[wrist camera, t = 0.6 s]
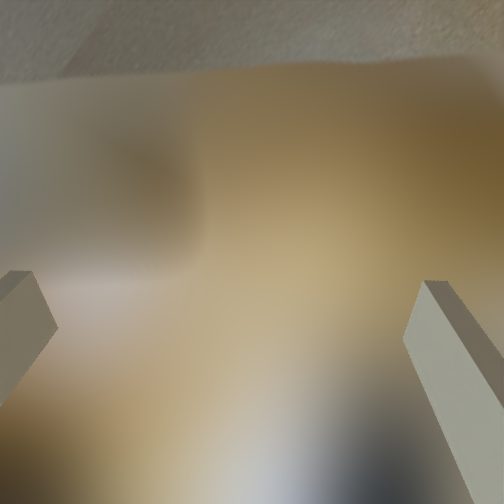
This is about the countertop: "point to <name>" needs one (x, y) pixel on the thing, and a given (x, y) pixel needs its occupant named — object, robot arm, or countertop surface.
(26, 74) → the countertop surface
